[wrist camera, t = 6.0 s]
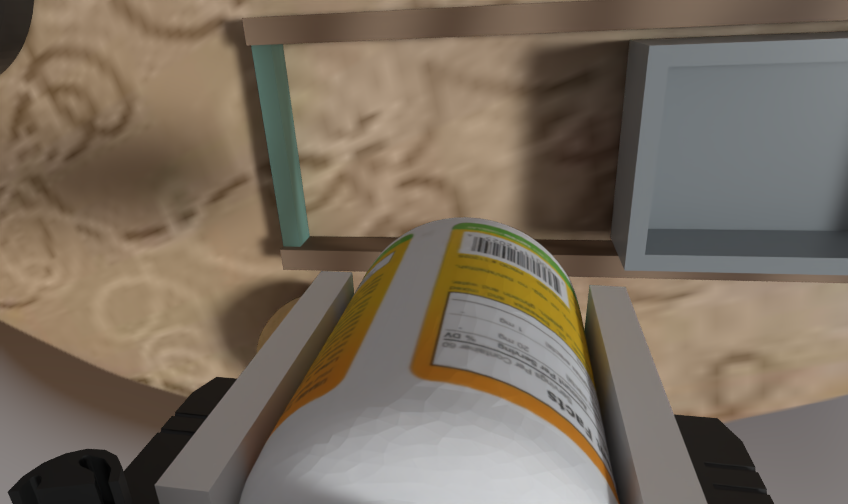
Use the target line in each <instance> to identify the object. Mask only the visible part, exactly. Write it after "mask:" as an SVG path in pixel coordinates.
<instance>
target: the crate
mask: <svg viewBox="0 0 848 504" xmlns="http://www.w3.org/2000/svg"><path fill="white" fill-rule="evenodd" d="M611 240H612V242H613V244H614V247H615V249H616V252H617V254H618V256H619V259H620V261H621V264H622V266H623V268H624V270H626V271H671V272H716V273H761V274H806V275H848V31H842V32H817V33H791V34H766V35H741V36H715V37H690V38H665V39H639V40H630V42H629V53H628V63H627V73H626V83H625V94H624V104H623V114H622V124H621V135H620V145H619V155H618V165H617V176H616V186H615V196H614V206H613V216H612V227H611Z"/></svg>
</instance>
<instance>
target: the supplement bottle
mask: <svg viewBox="0 0 848 504" xmlns="http://www.w3.org/2000/svg"><path fill="white" fill-rule="evenodd" d="M239 504H620V502H619V498H618V494H617V489H616V483H615V480H614V476H613V472H612V467H611V462H610V456H609V451H608V447H607V442H606V437H605V431H604V427H603V423H602V417H601V412H600V406H599V400H598V396H597V392H596V387H595V382H594V377H593V371H592V366H591V362H590V356H589V352H588V347H587V342H586V337H585V332H584V327H583V322H582V317H581V312H580V308H579V304H578V300H577V296H576V294H575V291H574V288H573V286H572V283H571V281H570V279H569V277H568V276H567V274H566V273H565V271H564V270H563V268H562V267H561V265H560V264H559V263H558V261H557V260H556V259H555V258H554V257H553V256H552V255H551V254H550V253H549V252H548V251H547V250H546V249H545V248H544V247H543V246H542V245H540V244H539V243H538V242H537V241H535V240H534V239H532V238H531V237H529V236H528V235H526V234H524V233H523V232H521V231H519V230H517V229H515V228H512V227H510V226H507V225H504V224H501V223H498V222H495V221H491V220H485V219H480V218H468V217H465V218H449V219H442V220H437V221H433V222H430V223H427V224H424V225H421V226H419V227H416V228H414V229H412V230H410V231H409V232H407V233H405V234H404V235H402V236H401V237H399V238H398V239H396V240H395V241H394V242H392V243H391V244H390V245H389V246H388V247H387V248H385V250H384V251H383V252H382V253H381V254H380V255H379V256H378V258H377V259H376V260H375V261H374V263H373V264H372V266H371V267H370V269H369V270H368V272H367V273H366V275H365V276H364V278H363V280H362V282H361V283H360V285H359V287H358V289H357V290H356V292H355V294H354V295H353V297H352V299H351V301H350V302H349V304H348V306H347V308H346V309H345V311H344V313H343V314H342V316H341V317H340V319H339V321H338V323H337V325H336V326H335V328H334V330H333V332H332V333H331V334H330V336H329V337H328V339H327V341H326V343H325V344H324V346H323V348H322V349H321V351H320V352H319V354H318V356H317V358H316V359H315V360H314V362H313V364H312V365H311V367H310V369H309V370H308V372H307V374H306V376H305V377H304V379H303V381H302V382H301V384H300V386H299V387H298V389H297V391H296V392H295V394H294V396H293V397H292V399H291V400H290V402H289V404H288V405H287V407H286V409H285V411H284V412H283V414H282V416H281V417H280V419H279V421H278V422H277V424H276V426H275V428H274V429H273V431H272V433H271V434H270V436H269V438H268V439H267V441H266V443H265V445H264V447H263V449H262V451H261V453H260V455H259V457H258V459H257V461H256V463H255V465H254V467H253V468H252V470H251V472H250V474H249V476H248V478H247V481H246V483H245V486H244V489H243V492H242V495H241V498H240V502H239Z"/></svg>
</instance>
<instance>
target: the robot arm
mask: <svg viewBox="0 0 848 504" xmlns="http://www.w3.org/2000/svg"><path fill="white" fill-rule="evenodd" d="M33 5H34V0H0V74H2V73H3V72H4V71H5V70H6V69H7V68H8V67H9V66H10V65H11V64H12V62H13V61H14V60H15V58H16V57H17V55H18V54H19V52H20V50H21V48H22V46H23V44H24V42H25V39H26V37H27V34H28V31H29V27H30V24H31V19H32V13H33ZM353 295H354V288H353V276H352V273H351V272H332V271H321V272H320V273H319V275H318V276H317V277H316V279H315V280H314V281H313V282H312V284H311V285H310V286H309V288H308V289H307V290H306V291H305V293H304V294H303V295H302V297H301V298H300V299H299V300H298V302H297V303H296V304H295V306H294V307H293V308H292V309H291V311H290V312H289V313H288V315H287V316H286V317H285V318H284V320H283V321H282V322H281V323H280V325H279V326H278V327H277V329H276V330H275V331H274V332H273V334H272V335H271V336H270V338H269V339H268V340H267V341H266V343H265V344H264V345H263V347H262V348H261V349H260V350H259V352H258V353H257V354H256V356H255V357H254V358H253V359H252V361H251V362H250V363H249V365H248V366H247V367H246V368H245V370H244V371H243V372H242V374H241V375H240V376H239V377H238V379H234V378H223V377H216V378H214V379H213V380H211V381H210V382H208V383H206V384H205V385H203V386H202V387H200V388H199V389H197V390H196V391H194V392H193V393H192V394H191V395H190V396H189V397H188V398H187V399H186V400H185V402H184V403H183V404H182V405H181V406H180V407H179V409H178V410H177V411H176V412H175V416H172V417H171V418H170V419H169V420H168V421H167V422H166V424H165V425H164V426H163V427H162V428H161V432H160V433H157V434H156V435H155V436H154V437H153V438H152V439H151V441H150V442H149V443H148V444H147V445H146V446H145V448H144V449H143V450H142V451H141V452H140V453H139V455H138V456H137V457H136V458H135V459H134V460H133V461H132V462H131V464H130V465H129V466H128V467H127V468H126V469H125V471H124V472H123V469H122V466H121V464H120V461H119V459H118V457H117V456H116V455H114V454H112V453H110V452H108V451H106V450H98V449H85V450H80V451H75V452H70V453H66V454H63V455H61V456H58V457H56V458H54V459H51V460H49V461H47V462H44V463H43V464H41V465H40V466H38V467H36V468H35V469H33V470H32V471H30V472H29V473H27V474H26V475H24V476H23V477H22V478H21V479H20V480H19V481H18V482H17V483H16V484H15V485H14V486H13V487H12V488H11V489H10V490H9V491H8V494H9V496H10V498H11V501H12V503H13V504H239V502H240V498H241V495H242V492H243V489H244V486H245V483H246V481H247V478H248V476H249V474H250V472H251V470H252V468H253V467H254V465H255V463H256V461H257V459H258V457H259V455H260V453H261V451H262V449H263V447H264V445H265V443H266V441H267V439H268V438H269V436H270V434H271V433H272V431H273V429H274V428H275V426H276V424H277V422H278V421H279V419H280V417H281V416H282V414H283V412H284V411H285V409H286V407H287V405H288V404H289V402H290V400H291V399H292V397H293V396H294V394H295V392H296V391H297V389H298V387H299V386H300V384H301V382H302V381H303V379H304V377H305V376H306V374H307V372H308V370H309V369H310V367H311V365H312V364H313V362H314V360H315V359H316V358H317V356H318V354H319V352H320V351H321V349H322V348H323V346H324V344H325V343H326V341H327V339H328V337H329V336H330V334H331V333H332V332H333V330H334V328H335V326H336V325H337V323H338V321H339V319H340V317H341V316H342V314H343V313H344V311H345V309H346V308H347V306H348V304H349V302H350V301H351V299H352V297H353ZM584 332H585V337H586V342H587V347H588V352H589V356H590V362H591V366H592V371H593V377H594V382H595V387H596V392H597V396H598V400H599V406H600V412H601V417H602V423H603V427H604V431H605V437H606V442H607V447H608V451H609V456H610V462H611V467H612V472H613V476H614V480H615V483H616V489H617V494H618V498H619V502H620V504H774V502H773V501H772V499H771V497H770V495H767V491H766V490H767V489H766V487H765V485H764V483H763V481H762V479H761V477H760V475H759V473H758V472H756V471H755V466H754V464H753V462H752V460H751V458H750V456H749V454H748V452H747V450H746V448H745V446H744V444H743V442H742V441H741V440H740V439H739V438H738V437H737V436H736V435H735V434H734V433H732V431H730V430H729V429H728V428H727V427H726V426H725V425H724V424H723V423H722V422H721V421H720V420H719V419H718V418H707V417H696V416H684V415H674V414H673V411H672V409H671V406H670V403H669V401H668V398H667V396H666V393H665V390H664V388H663V385H662V382H661V380H660V377H659V374H658V372H657V369H656V366H655V364H654V361H653V358H652V356H651V353H650V351H649V348H648V345H647V343H646V340H645V337H644V335H643V332H642V329H641V327H640V324H639V321H638V319H637V316H636V314H635V311H634V308H633V306H632V303H631V300H630V298H629V295H628V292H627V290H626V287H617V286H599V285H589V294H588V304H587V313H586V322H585V331H584Z"/></svg>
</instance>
